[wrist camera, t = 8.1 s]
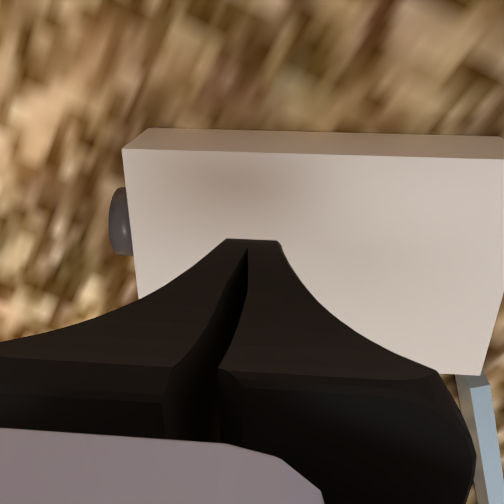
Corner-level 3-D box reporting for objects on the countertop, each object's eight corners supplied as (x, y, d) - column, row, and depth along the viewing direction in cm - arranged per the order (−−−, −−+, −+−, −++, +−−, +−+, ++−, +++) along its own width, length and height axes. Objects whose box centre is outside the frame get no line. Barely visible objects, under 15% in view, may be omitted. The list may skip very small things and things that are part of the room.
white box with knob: (499, 136, 19) (540, 160, 16) (454, 326, 23) (479, 376, 20) (125, 126, 20) (93, 147, 17) (145, 311, 24) (122, 355, 21)
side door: (449, 344, 23) (470, 388, 20) (484, 337, 22) (510, 381, 20) (480, 521, 28) (500, 574, 25) (509, 517, 28) (532, 571, 25)
